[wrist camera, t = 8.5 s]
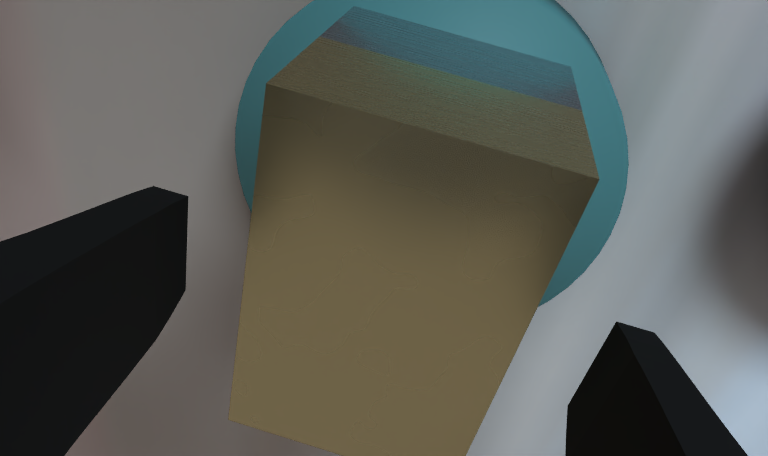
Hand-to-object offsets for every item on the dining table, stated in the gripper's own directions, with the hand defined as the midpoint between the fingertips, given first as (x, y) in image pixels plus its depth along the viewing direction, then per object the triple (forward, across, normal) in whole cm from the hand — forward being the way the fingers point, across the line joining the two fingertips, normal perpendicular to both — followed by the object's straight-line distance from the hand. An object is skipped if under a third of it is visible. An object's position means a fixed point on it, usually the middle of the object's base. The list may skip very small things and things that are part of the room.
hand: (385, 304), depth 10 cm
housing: (+5, 0, 0) cm, 5 cm away
